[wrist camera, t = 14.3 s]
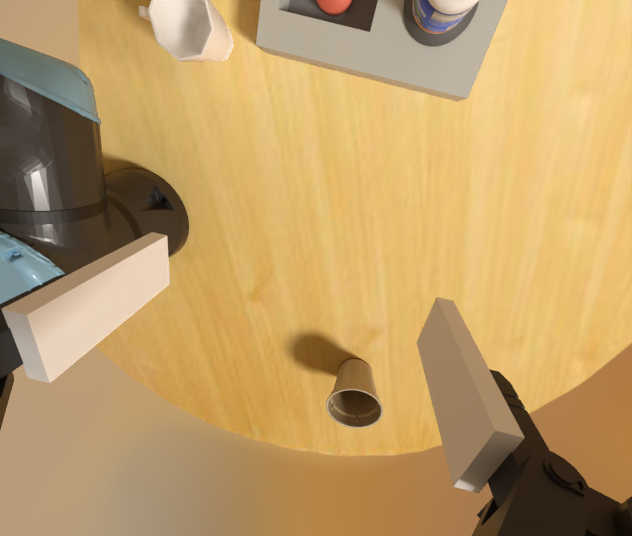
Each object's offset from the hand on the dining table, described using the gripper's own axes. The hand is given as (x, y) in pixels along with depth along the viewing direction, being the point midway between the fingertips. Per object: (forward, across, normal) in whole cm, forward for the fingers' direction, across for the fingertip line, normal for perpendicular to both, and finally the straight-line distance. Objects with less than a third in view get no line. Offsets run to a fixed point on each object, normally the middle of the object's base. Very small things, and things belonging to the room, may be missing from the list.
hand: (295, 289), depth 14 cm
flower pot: (+30, +11, -34) cm, 47 cm away
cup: (+31, -20, +14) cm, 39 cm away
